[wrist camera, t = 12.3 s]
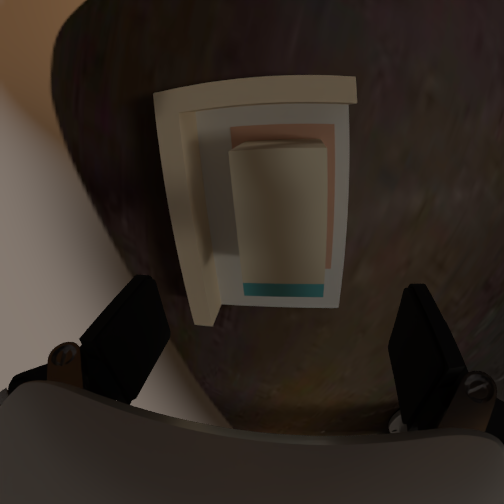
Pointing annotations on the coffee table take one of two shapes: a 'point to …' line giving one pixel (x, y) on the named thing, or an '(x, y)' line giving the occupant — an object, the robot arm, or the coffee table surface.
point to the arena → (219, 177)
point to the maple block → (281, 215)
